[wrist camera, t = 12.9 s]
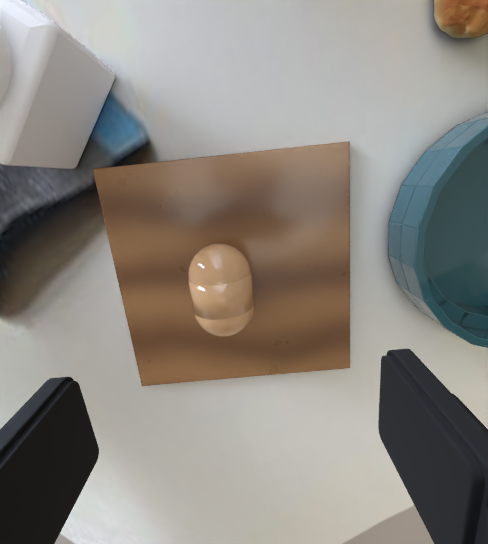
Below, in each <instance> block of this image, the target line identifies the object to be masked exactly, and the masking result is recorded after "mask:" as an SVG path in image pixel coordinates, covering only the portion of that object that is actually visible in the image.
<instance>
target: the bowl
mask: <svg viewBox="0 0 488 544" xmlns="http://www.w3.org/2000/svg"><path fill="white" fill-rule="evenodd" d="M388 256H389V259H390V262H391V265H392V269H393V272H394V275H395V278H396V281H397V283H398V285H399V286H400V288H401V289H402V290H403V291H404V293H405V294H406V295H407V297H408V298H409V299H410V300H411V302H412V303H413V304H414V305H415V306H416V307H417V308H418V309H420V310H421V311H422V312H424V313H425V314H426V315H428V316H429V317H431V318H432V319H433V320H435V321H436V322H437V323H439V324H440V325H441V326H443V327H444V328H445V329H447V330H449V331H450V332H452V333H454V334H456V335H457V336H459V337H461V338H462V339H464V340H466V341H467V342H469V343H471V344H473V345H477V346H482V347H487V348H488V112H486V113H484V114H482V115H479V116H477V117H475V118H472V119H470V120H468V121H466V122H463V123H461V124H459V125H457V126H456V127H455V128H453V129H452V130H451V131H450V132H448V133H447V134H446V135H445V136H444V137H442V138H441V139H440V140H439V141H438V142H436V143H435V144H434V145H433V146H432V147H430V148H429V149H428V150H427V151H426V152H425V153H424V154H423V155H422V157H421V158H420V160H419V161H418V162H417V164H416V165H415V167H414V168H413V170H412V171H411V172H410V174H409V175H408V177H407V178H406V179H405V181H404V182H403V184H402V186H401V188H400V191H399V194H398V197H397V200H396V203H395V206H394V208H393V211H392V214H391V217H390V221H389V242H388Z"/></svg>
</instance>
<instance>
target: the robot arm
mask: <svg viewBox="0 0 488 544" xmlns="http://www.w3.org/2000/svg"><path fill="white" fill-rule="evenodd" d="M379 434H380V437H381V440H382V442H383V444H384V446H385V448H386V450H387V452H388V454H389V456H390V458H391V460H392V462H393V463H394V465H395V467H396V469H397V471H398V473H399V475H400V477H401V479H402V481H403V483H404V485H405V487H406V489H407V491H408V493H409V495H410V497H411V499H412V501H413V503H414V505H415V507H416V509H417V511H418V512H419V515H420V516H421V518H422V520H423V522H424V524H425V526H426V528H427V530H428V532H429V534H430V536H431V538H432V540H433V542H434V544H488V429H487V428H486V427H485V426H484V425H483V424H482V423H481V422H480V421H479V420H478V419H477V418H476V417H475V415H474V414H473V413H472V412H471V411H470V410H469V409H468V408H467V407H466V406H465V405H464V404H463V403H462V402H461V401H460V400H459V399H458V398H457V397H456V396H455V395H454V394H451V393H450V391H449V390H448V389H447V388H446V387H445V386H444V385H443V384H442V383H441V382H440V381H439V380H438V379H437V378H436V376H435V375H434V374H433V373H432V372H431V371H430V370H429V369H428V368H427V367H426V366H425V365H424V364H423V363H422V361H421V360H420V359H419V358H418V357H417V356H416V355H415V354H414V353H413V352H412V351H411V350H410V349H399V350H389V351H388V352H387V356H382V359H381V379H380V403H379ZM98 455H99V448H98V444H97V441H96V438H95V435H94V431H93V428H92V425H91V422H90V419H89V415H88V412H87V409H86V406H85V402H84V399H83V396H82V393H81V389H80V386H79V384H78V382H76V381H74V380H73V379H72V378H71V377H61V378H51V379H49V380H47V381H46V382H45V383H44V384H43V385H42V386H41V387H40V389H39V390H38V391H37V392H36V393H35V394H34V395H33V396H32V397H31V398H30V399H29V400H28V401H27V402H26V403H25V404H24V405H23V406H22V407H21V408H20V410H19V411H18V412H17V413H16V414H15V415H14V416H13V417H12V418H11V419H10V420H9V421H8V422H7V423H6V424H5V425H4V426H3V427H2V428H1V429H0V544H54V543H55V541H56V539H57V537H58V535H59V534H60V532H61V530H62V528H63V526H64V524H65V522H66V520H67V518H68V516H69V514H70V512H71V510H72V508H73V506H74V504H75V503H76V501H77V499H78V497H79V495H80V493H81V491H82V489H83V487H84V485H85V483H86V481H87V479H88V477H89V475H90V473H91V471H92V469H93V468H94V466H95V464H96V462H97V459H98Z"/></svg>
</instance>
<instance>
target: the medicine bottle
mask: <svg viewBox="0 0 488 544" xmlns="http://www.w3.org/2000/svg"><path fill="white" fill-rule="evenodd" d="M114 79H115V73H114V71H113V70H112V69H111V68H110V67H109V66H108V65H106V64H105V63H104V62H103V61H102V60H100V59H99V58H98V57H97V56H96V55H94V54H93V53H92V52H91V51H90V50H88V49H87V48H86V47H85V46H84V45H82V44H81V43H80V42H79V41H78V40H76V39H75V38H74V37H73V36H72V35H71V34H69V33H68V32H67V31H66V30H65V29H63V28H62V27H61V26H60V25H59V24H57V23H56V22H55V21H54V20H52V19H51V18H49V17H48V16H46V15H45V14H43V13H42V12H40V11H39V10H37V9H36V8H34V7H32V6H31V5H29V4H28V3H26V2H25V1H23V0H0V164H3V165H14V166H31V167H47V168H64V169H74V168H76V166H77V165H78V162H79V160H80V158H81V155H82V153H83V151H84V148H85V146H86V144H87V142H88V139H89V137H90V135H91V132H92V130H93V128H94V125H95V123H96V121H97V119H98V116H99V114H100V112H101V109H102V107H103V105H104V102H105V100H106V98H107V95H108V93H109V91H110V89H111V86H112V84H113V82H114Z"/></svg>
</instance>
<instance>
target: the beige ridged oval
mask: <svg viewBox="0 0 488 544" xmlns="http://www.w3.org/2000/svg"><path fill="white" fill-rule="evenodd" d="M188 281H189V287H190V294H191V300H192V306H193V312H194V316H195V319H196V320H197V322H198V324H199V325H200V327H201V328H202V329H203V330H204V331H206V332H207V333H209V334H211V335H214V336H217V337H229V336H233V335H236V334H238V333H240V332H241V331H242V330H244V329H245V328H246V327H247V325H248V324H249V323H250V321H251V318H252V316H253V312H254V297H253V287H252V277H251V269H250V265H249V262H248V260H247V259H246V257H245V256H244V254H243V253H242V252H241V251H240V250H239V249H237V248H235V247H234V246H231V245H228V244H224V243H214V244H210V245H208V246H205V247H204V248H202V249H201V250H199V251H198V252H197V253H196V254H195V255H194V257H193V259H192V260H191V262H190V265H189V270H188Z"/></svg>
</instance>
